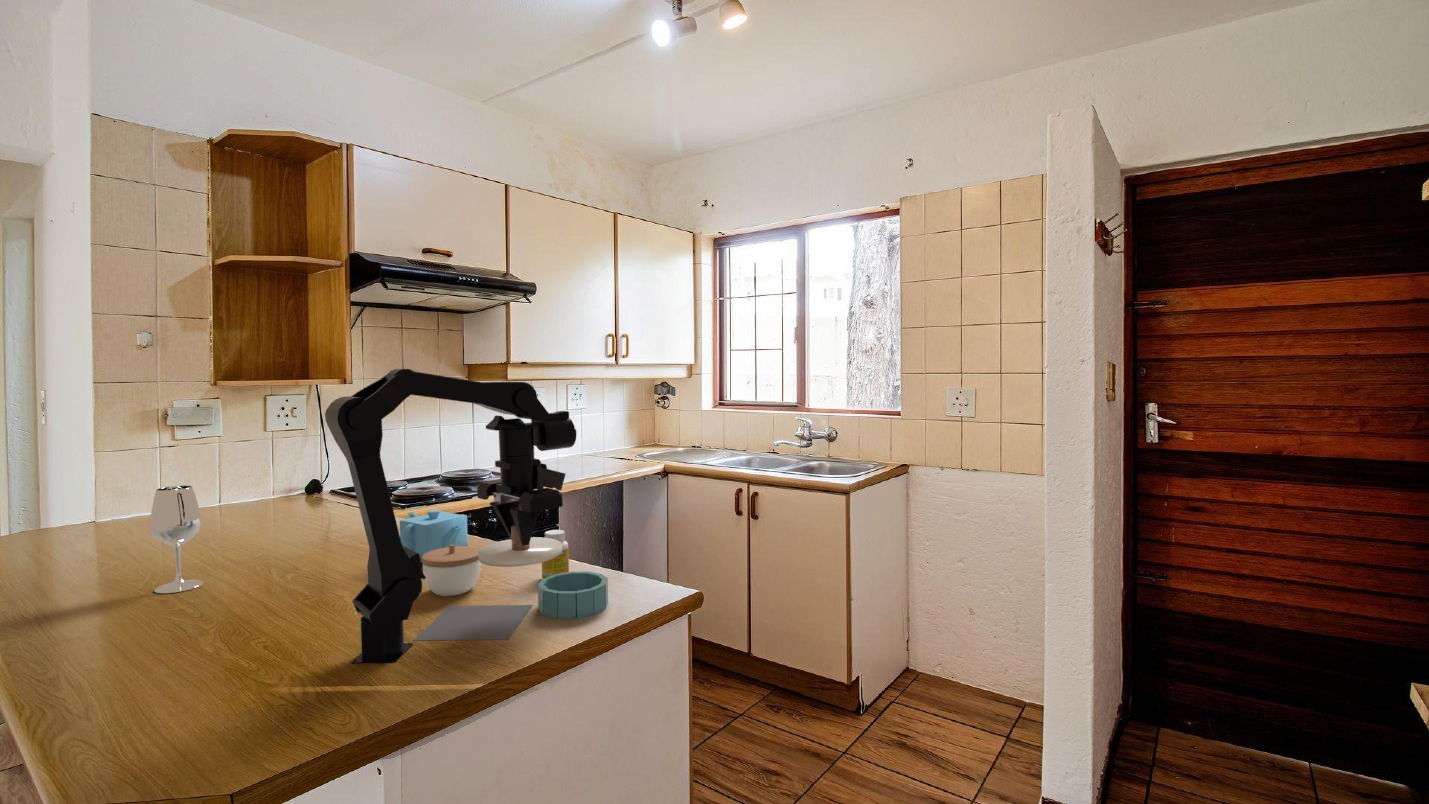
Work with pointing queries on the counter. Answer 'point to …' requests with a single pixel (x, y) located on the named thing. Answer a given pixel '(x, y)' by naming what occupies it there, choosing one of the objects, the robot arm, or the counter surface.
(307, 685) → the counter surface
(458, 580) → the lidded jar
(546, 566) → the supplement bottle
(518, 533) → the robot arm
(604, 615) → the counter surface
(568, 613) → the bowl
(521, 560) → the lid
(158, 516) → the wineglass
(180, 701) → the counter surface
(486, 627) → the mat
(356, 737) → the counter surface
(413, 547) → the teapot
